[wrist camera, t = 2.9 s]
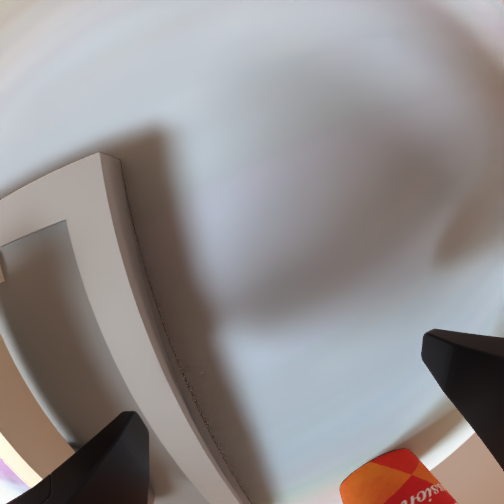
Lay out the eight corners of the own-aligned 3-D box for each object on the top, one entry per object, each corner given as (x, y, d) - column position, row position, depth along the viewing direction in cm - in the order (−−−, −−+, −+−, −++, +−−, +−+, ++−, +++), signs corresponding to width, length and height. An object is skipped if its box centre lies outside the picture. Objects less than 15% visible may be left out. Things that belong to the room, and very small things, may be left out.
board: (255, 509, 12) (258, 530, 10) (67, 498, 11) (62, 513, 9) (119, 159, 8) (94, 150, 6) (-75, 264, 7) (-93, 271, 5)
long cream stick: (172, 506, 10) (169, 556, 6) (91, 497, 9) (80, 537, 6) (28, 283, 7) (-46, 325, 3) (-41, 304, 6) (-90, 334, 3)
